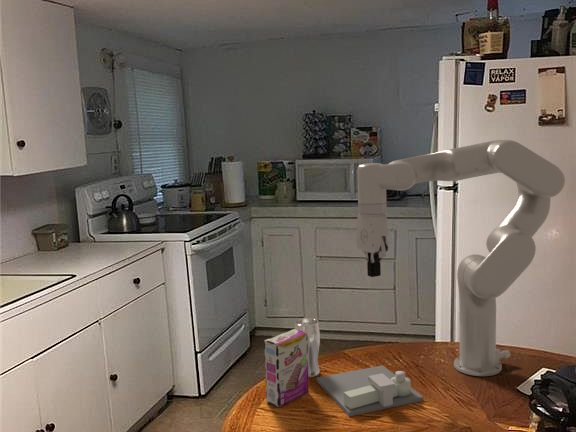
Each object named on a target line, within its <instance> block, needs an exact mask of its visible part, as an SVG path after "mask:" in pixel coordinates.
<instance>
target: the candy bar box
mask: <svg viewBox="0 0 576 432" xmlns="http://www.w3.org/2000/svg"><path fill="white" fill-rule="evenodd" d="M263 345H264V370H265V372H264V373H265V394H266V395H265V396H266V398H265V399H266V400H265V402H267V404H270V405H272V406H275V407H277V408H281V407H283V406H285V405H287V404H289V403H291V402H293V401H294V400H297V399H298V398H300V397H302V396H304V395H307V394H308V393H309V387H310V386H309V377H308V348H307V333H306V332H303V331H299V330H296V329H295V328H294V329H290V330H289V331H286V332H283V333H281V334H278V335H274V336H272V337H270V338H267V339H264V344H263Z"/></svg>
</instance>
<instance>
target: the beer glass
mask: <svg viewBox="0 0 576 432" xmlns="http://www.w3.org/2000/svg"><path fill="white" fill-rule="evenodd" d="M294 329H296V330H299V331H303V332H306V333H307V348H308V378H314V377H317V376H319V375H320V366H319V351H320V349H319V348H320V345H321V342H320V341H321V333H320V332H321V331H320V323H319V319H317V318H313V317H302V318H299V319H296V320H295V322H294Z"/></svg>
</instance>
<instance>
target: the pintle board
mask: <svg viewBox="0 0 576 432" xmlns="http://www.w3.org/2000/svg"><path fill="white" fill-rule="evenodd" d="M393 377H396V376H395V373H393V372H392V371H391V370H389V369H388V368H387V367H386V366H384V365H378V366H372V367H368V368H363V369H356V370H351V371H350V370H349V371H347V372H341V373H336V374H329V375H324V376H319V377H316V383H317V384H318V385H319V386H320V387H321V388H322V389H323V390H324V391H325V392H326V393H327V395H329V397H330V398H331V399H332V400H333V401H334V402H335V403H336V404H337V405H338V406H339V407H340V408H341V410H343V412H344V413H345V414H346V415H347V416H348V417H353V416H357V415H358V416H359V415H362V414H368V413H372V412H377V411H382V410H386V409H390V408H395V407H400V406H405V405H409V404H414V403H418V402H419V403H420V402H422V401H423V402H424V396H422V395H421V394H420V393H419V392H418V391H417V390H415V389H414V388H413V387H411V394H410V395H408V396H396V397H393V389H395V383H394V382H393V381H391V380H390V379H391V378H393ZM369 385H374V386H375V387H376V388H377V389H378V390H379V401H378V402H375V403H371V404H367V405H364V406H360V407H357V408H353V409H349V408H348V407H347V406H346V405H345V404H344V392H347V391H350V390H354V389H358V388H362V387H366V386H369Z"/></svg>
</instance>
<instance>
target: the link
mask: <svg viewBox="0 0 576 432" xmlns="http://www.w3.org/2000/svg"><path fill="white" fill-rule="evenodd" d="M394 374H395V376H396V377H393V378H391V379H390V380H391V381H393V382H394V383H395V389H393V397H396V396H408V395H410V394H411V388H412V382H411V378H409V377H406V372H405V371H404V370H397V371H395V373H394ZM378 401H379V390H378V389H377V388H376V387H375V386H374V385H369V386H366V387H362V388H358V389H354V390H350V391H347V392H344V404H345V405H346V406H347V407H348V408H349V409H353V408H357V407H360V406H364V405H367V404H371V403H375V402H378Z"/></svg>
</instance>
